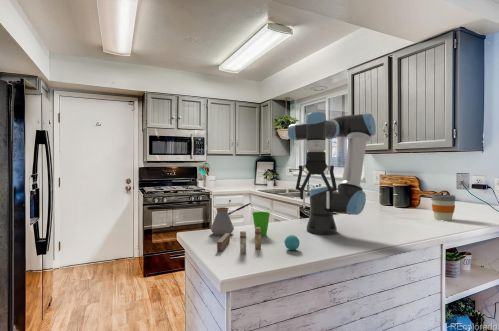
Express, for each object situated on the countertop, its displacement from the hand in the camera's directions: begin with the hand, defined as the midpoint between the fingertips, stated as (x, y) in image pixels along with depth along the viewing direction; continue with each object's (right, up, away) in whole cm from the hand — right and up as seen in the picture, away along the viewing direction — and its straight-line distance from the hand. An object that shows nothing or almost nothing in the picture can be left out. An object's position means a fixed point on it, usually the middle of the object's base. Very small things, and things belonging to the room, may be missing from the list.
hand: (315, 207), depth 113 cm
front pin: (-23, -17, +4) cm, 29 cm away
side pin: (-29, -17, -2) cm, 34 cm away
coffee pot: (-36, -17, +29) cm, 49 cm away
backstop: (-38, -17, +6) cm, 42 cm away
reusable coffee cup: (+94, -17, +63) cm, 114 cm away
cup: (-21, -17, +25) cm, 37 cm away
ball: (-9, -14, +2) cm, 17 cm away
